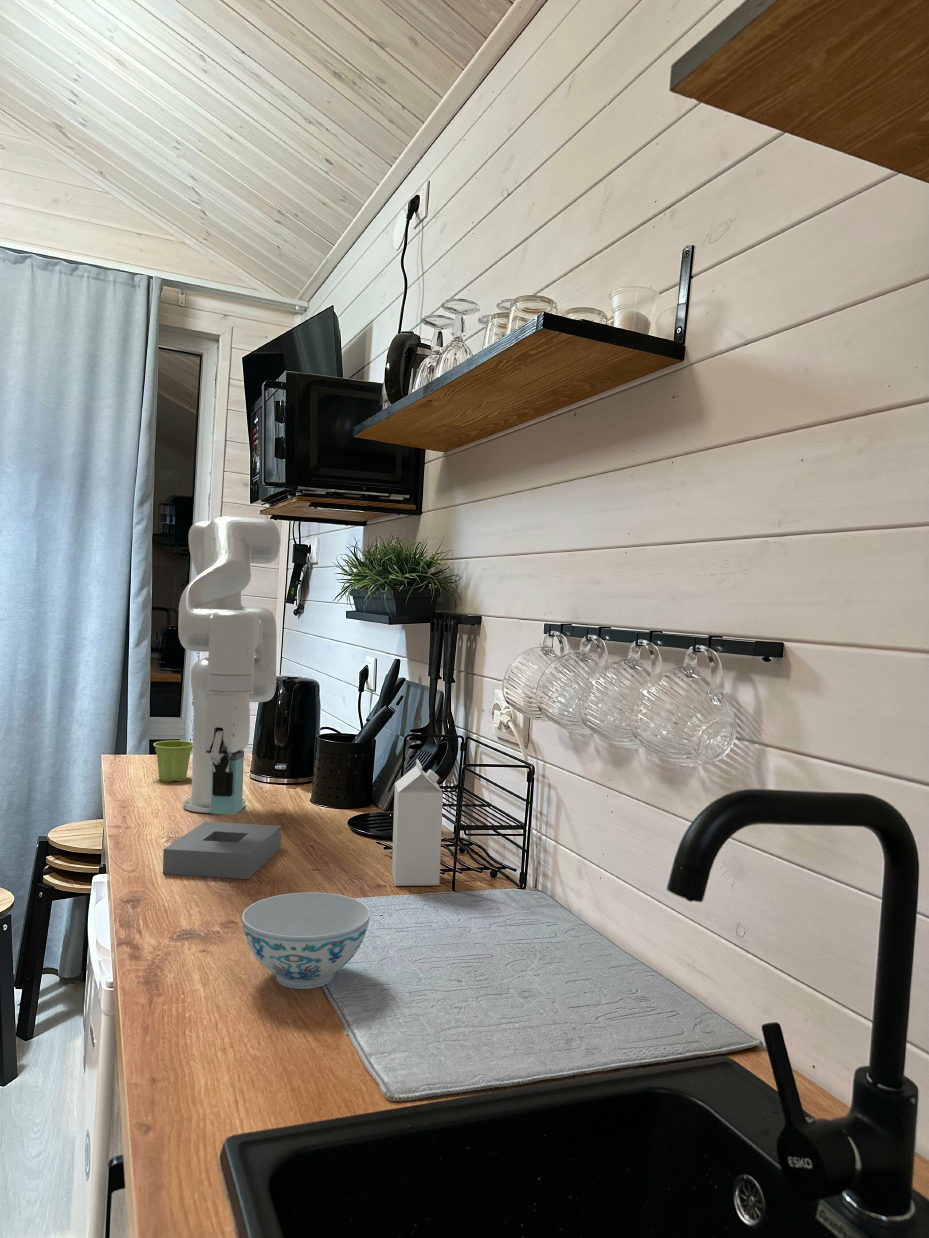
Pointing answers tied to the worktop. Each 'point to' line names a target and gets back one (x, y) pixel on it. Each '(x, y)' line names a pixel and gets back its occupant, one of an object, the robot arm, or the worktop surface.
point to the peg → (235, 800)
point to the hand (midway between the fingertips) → (227, 791)
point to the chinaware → (305, 935)
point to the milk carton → (417, 829)
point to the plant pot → (173, 759)
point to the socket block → (222, 850)
